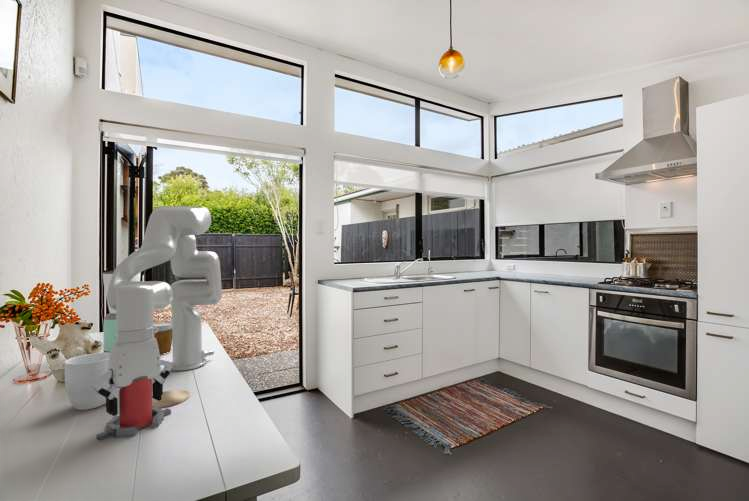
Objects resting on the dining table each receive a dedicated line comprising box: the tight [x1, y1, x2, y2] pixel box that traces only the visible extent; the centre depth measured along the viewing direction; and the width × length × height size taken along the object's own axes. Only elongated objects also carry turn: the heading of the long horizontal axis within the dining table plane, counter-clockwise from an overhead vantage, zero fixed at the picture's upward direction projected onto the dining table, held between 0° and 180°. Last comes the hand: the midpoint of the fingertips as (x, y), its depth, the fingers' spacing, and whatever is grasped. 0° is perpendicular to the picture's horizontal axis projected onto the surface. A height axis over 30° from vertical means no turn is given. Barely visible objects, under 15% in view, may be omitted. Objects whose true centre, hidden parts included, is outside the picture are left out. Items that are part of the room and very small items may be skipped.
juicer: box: [101, 270, 142, 353], centre depth 150 cm, size 19×13×35 cm
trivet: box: [152, 389, 190, 409], centre depth 101 cm, size 11×11×1 cm
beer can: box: [118, 376, 153, 431], centre depth 86 cm, size 7×7×12 cm
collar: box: [95, 407, 172, 442], centre depth 86 cm, size 16×10×2 cm
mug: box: [64, 351, 119, 411], centre depth 99 cm, size 15×11×13 cm
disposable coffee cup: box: [153, 321, 172, 355], centre depth 148 cm, size 10×10×12 cm
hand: (135, 406), depth 86 cm, fingers open, 9 cm apart
